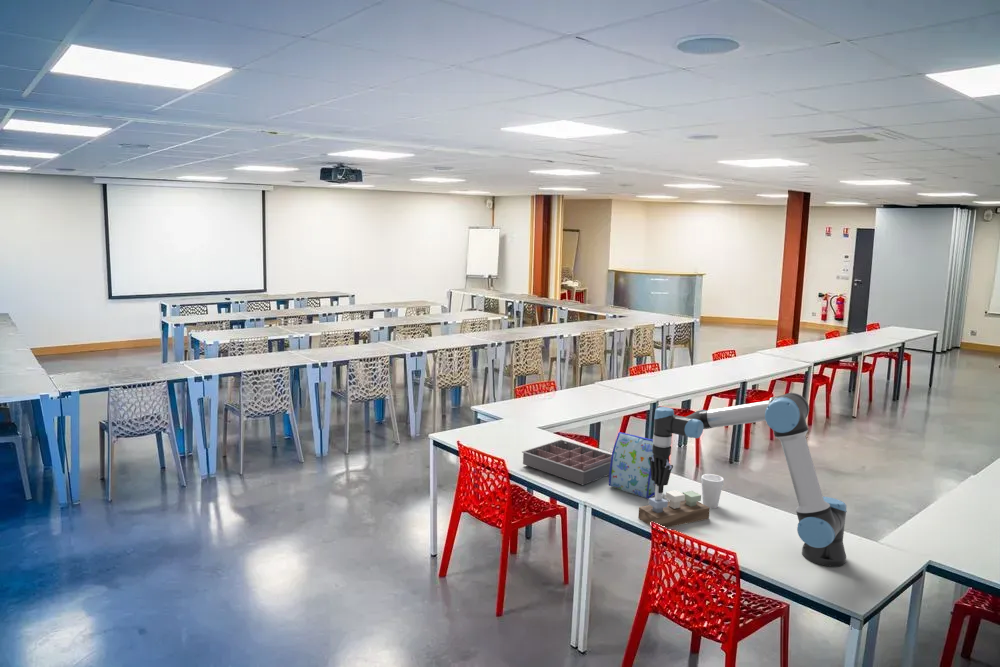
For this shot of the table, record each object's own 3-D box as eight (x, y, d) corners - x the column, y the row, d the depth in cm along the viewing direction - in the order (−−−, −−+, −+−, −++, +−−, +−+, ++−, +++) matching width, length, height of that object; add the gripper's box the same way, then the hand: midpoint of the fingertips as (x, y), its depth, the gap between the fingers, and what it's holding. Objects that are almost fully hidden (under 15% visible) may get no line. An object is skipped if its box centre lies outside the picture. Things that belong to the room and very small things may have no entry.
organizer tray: (560, 453, 371) (561, 435, 369) (622, 472, 343) (623, 453, 342) (520, 466, 348) (521, 447, 346) (583, 488, 320) (584, 468, 319)
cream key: (684, 508, 287) (685, 494, 286) (673, 510, 285) (674, 496, 284) (675, 503, 292) (676, 490, 291) (665, 505, 290) (666, 492, 289)
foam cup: (706, 510, 299) (708, 482, 297) (695, 502, 307) (697, 474, 306) (725, 508, 301) (728, 480, 299) (713, 500, 310) (716, 473, 308)
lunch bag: (665, 491, 320) (669, 437, 316) (648, 501, 307) (652, 445, 303) (623, 479, 334) (626, 427, 330) (606, 488, 321) (609, 435, 317)
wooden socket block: (708, 518, 290) (709, 507, 289) (656, 529, 278) (657, 518, 277) (689, 508, 300) (690, 497, 300) (638, 518, 288) (639, 507, 288)
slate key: (666, 515, 283) (667, 501, 282) (656, 517, 281) (657, 503, 280) (658, 510, 288) (659, 496, 287) (647, 512, 286) (648, 498, 285)
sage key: (700, 508, 291) (701, 495, 290) (690, 510, 289) (691, 497, 288) (691, 503, 296) (692, 490, 295) (681, 505, 294) (682, 492, 293)
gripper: (679, 448, 276) (675, 503, 280) (659, 439, 288) (655, 492, 291) (665, 450, 273) (661, 506, 276) (644, 441, 284) (641, 495, 288)
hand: (658, 499), depth 284 cm, fingers closed
